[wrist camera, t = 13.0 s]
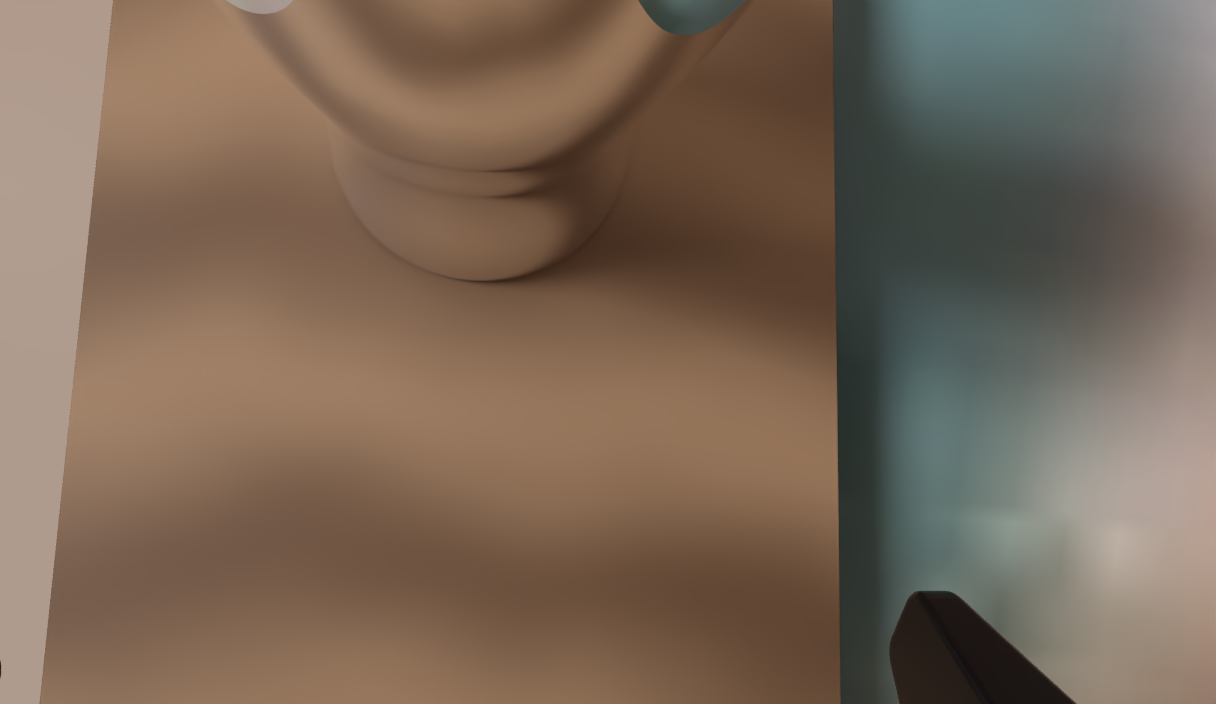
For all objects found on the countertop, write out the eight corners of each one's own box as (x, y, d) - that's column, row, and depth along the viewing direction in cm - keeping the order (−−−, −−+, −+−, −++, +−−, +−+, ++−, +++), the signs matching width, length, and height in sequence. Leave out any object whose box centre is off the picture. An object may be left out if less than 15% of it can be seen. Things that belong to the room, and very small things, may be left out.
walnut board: (806, 849, 19) (842, 893, 17) (69, 876, 17) (16, 928, 15) (800, -155, 22) (830, -215, 20) (177, -233, 20) (145, -307, 18)
